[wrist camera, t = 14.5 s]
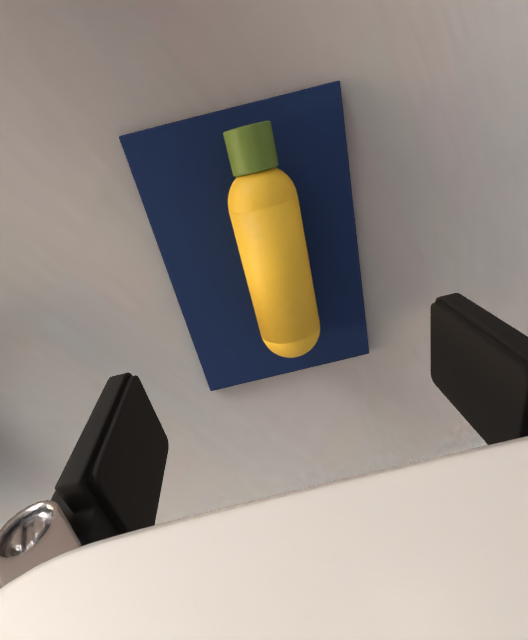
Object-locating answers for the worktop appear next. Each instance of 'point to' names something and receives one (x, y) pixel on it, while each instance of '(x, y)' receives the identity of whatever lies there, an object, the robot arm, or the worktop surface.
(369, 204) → the worktop surface
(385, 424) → the worktop surface
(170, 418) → the worktop surface
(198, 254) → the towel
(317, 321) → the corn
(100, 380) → the worktop surface
